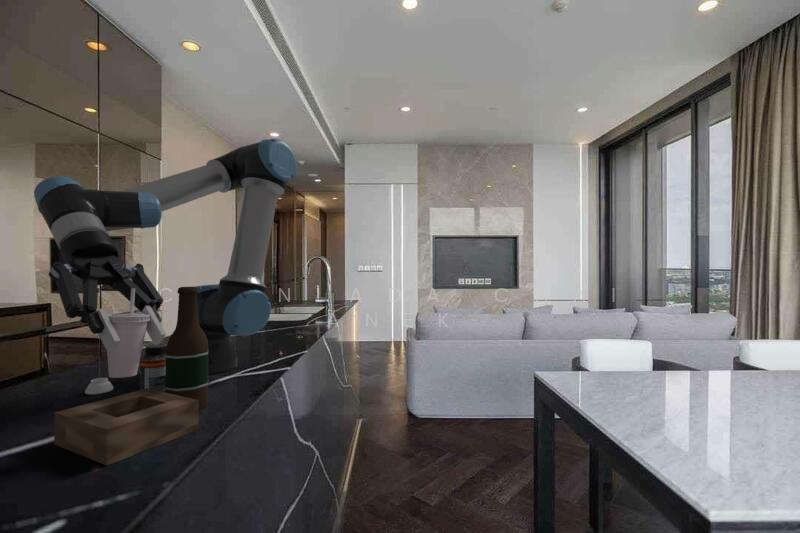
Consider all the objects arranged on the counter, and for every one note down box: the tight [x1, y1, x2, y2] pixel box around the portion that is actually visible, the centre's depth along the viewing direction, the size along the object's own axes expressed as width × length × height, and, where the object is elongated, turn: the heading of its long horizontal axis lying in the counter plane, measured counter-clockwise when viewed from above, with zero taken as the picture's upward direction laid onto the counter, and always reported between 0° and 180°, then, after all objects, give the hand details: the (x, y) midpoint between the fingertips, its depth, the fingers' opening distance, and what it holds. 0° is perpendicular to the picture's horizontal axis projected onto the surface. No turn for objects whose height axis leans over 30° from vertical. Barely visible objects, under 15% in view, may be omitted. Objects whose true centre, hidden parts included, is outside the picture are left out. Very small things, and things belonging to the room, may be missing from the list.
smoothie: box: [106, 288, 150, 379], centre depth 64 cm, size 6×6×14 cm
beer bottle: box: [166, 286, 209, 411], centre depth 78 cm, size 8×8×24 cm
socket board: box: [53, 389, 200, 466], centre depth 64 cm, size 14×15×5 cm
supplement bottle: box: [139, 343, 167, 393], centre depth 84 cm, size 6×6×11 cm
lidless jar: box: [84, 377, 114, 396], centre depth 88 cm, size 5×3×5 cm
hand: (138, 342), depth 62 cm, fingers closed on smoothie, 6 cm apart
